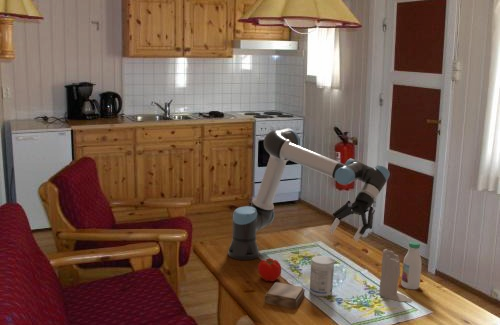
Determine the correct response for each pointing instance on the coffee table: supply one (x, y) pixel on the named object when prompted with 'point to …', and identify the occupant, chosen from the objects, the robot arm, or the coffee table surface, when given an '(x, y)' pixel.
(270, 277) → the tomato
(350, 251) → the coffee table surface
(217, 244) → the coffee table surface
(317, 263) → the supplement tub
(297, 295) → the plinth
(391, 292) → the beige bookend
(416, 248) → the milk bottle
